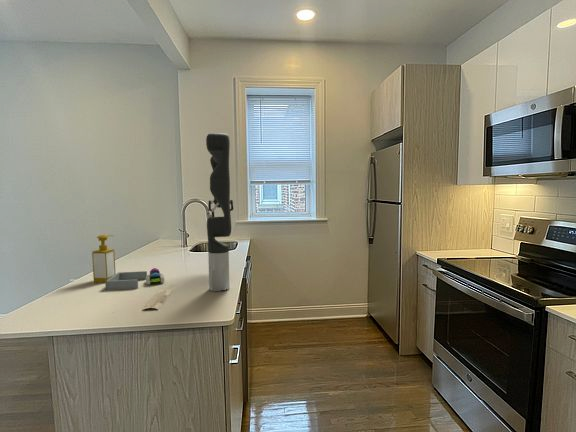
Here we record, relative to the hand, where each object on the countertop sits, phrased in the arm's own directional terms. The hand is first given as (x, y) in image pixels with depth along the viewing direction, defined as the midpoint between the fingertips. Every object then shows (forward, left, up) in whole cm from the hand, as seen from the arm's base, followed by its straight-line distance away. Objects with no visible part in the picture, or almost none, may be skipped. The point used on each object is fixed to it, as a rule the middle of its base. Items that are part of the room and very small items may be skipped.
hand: (221, 218), depth 202 cm
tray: (-28, +45, -29) cm, 60 cm away
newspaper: (-58, +24, -30) cm, 70 cm away
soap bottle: (-16, +58, -29) cm, 67 cm away
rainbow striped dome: (-28, +32, -30) cm, 52 cm away
